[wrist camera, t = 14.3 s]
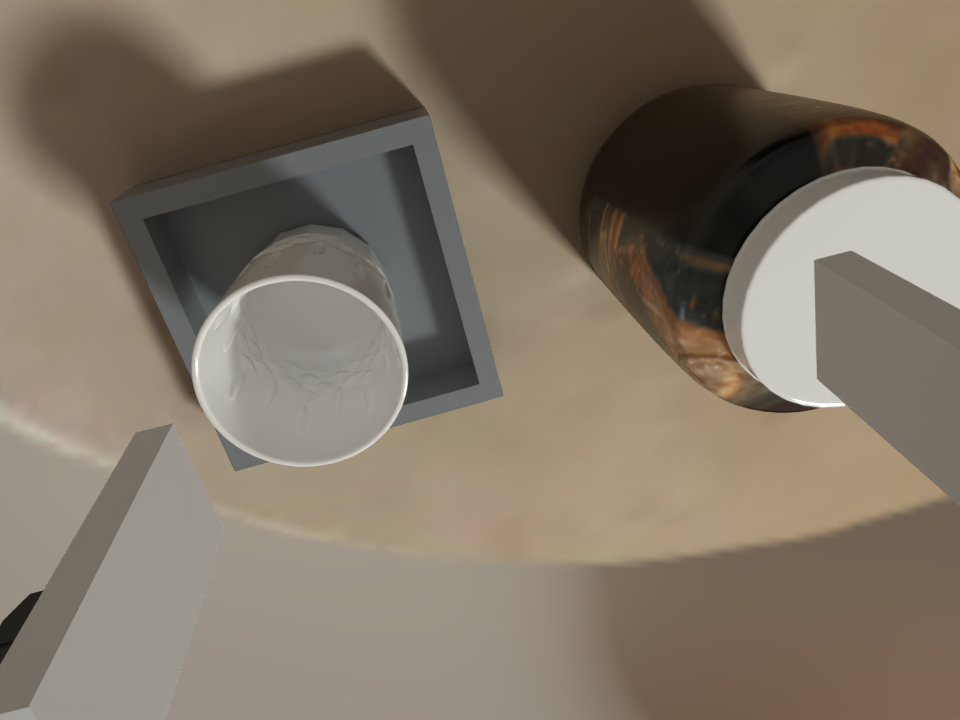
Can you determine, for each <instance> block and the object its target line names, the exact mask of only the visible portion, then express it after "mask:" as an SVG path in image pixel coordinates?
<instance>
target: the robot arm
mask: <svg viewBox="0 0 960 720" xmlns="http://www.w3.org/2000/svg"><path fill="white" fill-rule="evenodd" d="M814 281H815V323H816V364H817V380H819V381H820V382H821V383H822V384H823V385H824V386H825V387H826V388H828V389H829V390H830V391H831V392H832V393H833V394H834V395H835V396H837V397H838V398H839V399H840V400H841V401H842V402H843V403H844V404H846V405H847V406H848V407H849V408H850V409H851V410H852V411H853V412H855V413H856V414H857V415H858V416H859V417H860V418H861V419H863V420H864V421H865V422H866V423H867V424H868V425H869V426H870V427H872V428H873V429H874V430H875V431H876V432H877V433H878V434H879V435H881V436H882V437H883V438H884V439H885V440H886V441H887V442H888V443H890V444H891V445H892V446H893V447H894V448H895V449H896V450H897V451H899V452H900V453H901V454H902V455H903V456H904V457H905V458H906V459H908V460H909V461H910V462H911V463H912V464H913V465H914V466H915V467H917V468H918V469H919V470H920V471H921V472H922V473H923V474H924V475H926V476H927V477H928V478H929V479H930V480H931V481H932V482H934V483H935V484H936V485H937V486H938V487H939V488H940V489H941V490H943V491H944V492H945V493H946V494H947V495H948V496H949V497H950V498H952V499H953V500H954V501H955V502H956V503H957V504H958V505H959V506H960V309H958V308H957V307H955V306H953V305H951V304H949V303H947V302H946V301H944V300H942V299H940V298H938V297H936V296H934V295H933V294H931V293H929V292H927V291H925V290H923V289H922V288H920V287H918V286H916V285H914V284H912V283H911V282H909V281H907V280H905V279H903V278H901V277H899V276H898V275H896V274H894V273H892V272H890V271H888V270H887V269H885V268H883V267H881V266H879V265H877V264H876V263H874V262H872V261H870V260H868V259H866V258H864V257H863V256H861V255H859V254H857V253H855V252H853V251H852V250H851V251H847V252H843V253H839V254H835V255H831V256H828V257H824V258H820V259H816V260H814ZM224 531H225V529H224V527H223V525H222V523H221V521H220V519H219V517H218V515H217V513H216V511H215V509H214V507H213V505H212V503H211V501H210V498H209V496H208V494H207V492H206V490H205V488H204V486H203V484H202V482H201V480H200V478H199V476H198V474H197V472H196V470H195V468H194V466H193V464H192V462H191V460H190V458H189V455H188V453H187V451H186V449H185V447H184V445H183V443H182V441H181V439H180V437H179V435H178V433H177V431H176V429H175V427H174V425H173V424H169V425H165V426H161V427H157V428H153V429H149V430H145V431H141V432H137V433H135V435H134V436H133V438H132V440H131V442H130V443H129V445H128V447H127V448H126V450H125V452H124V454H123V455H122V457H121V459H120V460H119V462H118V464H117V466H116V467H115V469H114V471H113V472H112V474H111V476H110V478H109V479H108V481H107V483H106V484H105V486H104V488H103V489H102V491H101V493H100V495H99V496H98V498H97V500H96V502H95V503H94V505H93V507H92V509H91V510H90V512H89V514H88V515H87V517H86V519H85V520H84V522H83V524H82V525H81V527H80V529H79V531H78V532H77V534H76V536H75V537H74V539H73V541H72V543H71V544H70V546H69V548H68V549H67V551H66V553H65V555H64V556H63V558H62V560H61V562H60V563H59V565H58V567H57V568H56V570H55V572H54V573H53V575H52V577H51V579H50V580H49V582H48V584H47V585H46V587H45V589H44V590H43V591H40V592H36V593H32V594H30V595H29V596H28V597H27V598H25V599H24V600H23V601H22V602H21V604H19V605H18V606H17V608H16V609H14V611H12V612H11V613H10V614H9V615H8V616H7V617H6V618H5V619H4V620H3V622H2V623H1V625H0V720H166V718H167V715H168V712H169V709H170V705H171V702H172V699H173V696H174V693H175V689H176V686H177V683H178V680H179V676H180V673H181V670H182V667H183V663H184V660H185V657H186V654H187V651H188V647H189V644H190V641H191V638H192V634H193V631H194V628H195V624H196V621H197V618H198V615H199V612H200V609H201V605H202V602H203V599H204V595H205V592H206V589H207V586H208V583H209V579H210V576H211V573H212V570H213V566H214V563H215V560H216V557H217V553H218V550H219V547H220V544H221V541H222V537H223V534H224Z"/></svg>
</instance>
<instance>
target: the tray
mask: <svg viewBox="0 0 960 720" xmlns="http://www.w3.org/2000/svg"><path fill="white" fill-rule="evenodd" d="M110 205H111V207H112V209H113V211H114V213H115V216H116V218H117V220H118V222H119V224H120V226H121V228H122V231H123V233H124V235H125V237H126V239H127V241H128V243H129V245H130V248H131V250H132V252H133V254H134V256H135V258H136V260H137V263H138V265H139V267H140V269H141V271H142V273H143V275H144V278H145V280H146V282H147V284H148V286H149V288H150V290H151V293H152V295H153V297H154V299H155V301H156V303H157V305H158V308H159V310H160V312H161V314H162V316H163V318H164V320H165V323H166V325H167V327H168V329H169V331H170V333H171V335H172V338H173V340H174V342H175V344H176V346H177V348H178V350H179V353H180V355H181V357H182V359H183V361H184V363H185V365H186V368H187V370H188V372H189V374H190V376H191V378H192V373H191V360H192V352H193V347H194V344H195V340H196V337H197V335H198V332H199V330H200V328H201V326H202V324H203V323H204V321H205V320H206V318H207V317H208V315H209V314H210V313H211V311H212V310H213V309H214V307H215V306H216V305H217V303H218V302H219V301H220V299H221V298H222V297H223V295H224V294H225V293H226V291H227V290H228V289H229V287H230V286H231V285H232V283H233V282H234V280H235V279H236V278H237V276H238V275H239V274H240V273H241V272H242V270H243V269H244V268H245V267H246V266H247V265H248V263H250V261H251V260H252V259H253V258H254V257H255V256H256V255H257V254H258V253H260V252H261V251H262V250H263V249H264V248H265V247H266V246H267V245H268V244H269V243H270V242H271V241H272V240H273V239H274V238H275V237H276V236H278V235H279V234H280V233H282V232H286V231H289V230H292V229H295V228H299V227H302V226H305V225H308V224H315V225H322V226H329V227H336V228H343V229H345V230H346V231H348V232H349V233H351V234H352V235H354V236H355V237H357V238H359V239H360V240H362V241H363V242H365V243H366V244H368V245H370V247H371V248H372V250H373V251H374V253H375V255H376V256H377V258H378V259H379V261H380V262H381V264H382V266H383V267H384V269H385V270H386V272H387V278H388V283H389V285H390V287H391V290H392V293H393V296H394V300H395V304H396V308H397V311H398V315H399V320H400V325H401V331H402V336H403V341H404V346H405V351H406V356H407V362H408V386H407V392H406V396H405V399H404V402H403V405H402V407H401V410H400V412H399V414H398V415H397V417H396V419H395V420H394V422H393V423H392V425H391V426H390V427H389V428H391V427H395V426H398V425H402V424H405V423H409V422H413V421H416V420H420V419H423V418H427V417H430V416H434V415H437V414H441V413H445V412H448V411H452V410H455V409H459V408H462V407H466V406H469V405H473V404H477V403H480V402H484V401H487V400H491V399H494V398H498V397H501V396H503V392H502V388H501V385H500V381H499V377H498V373H497V369H496V366H495V362H494V358H493V354H492V351H491V347H490V343H489V339H488V335H487V332H486V328H485V324H484V320H483V316H482V313H481V309H480V305H479V301H478V298H477V294H476V290H475V286H474V282H473V279H472V275H471V271H470V267H469V263H468V260H467V256H466V252H465V248H464V245H463V241H462V237H461V233H460V229H459V226H458V222H457V218H456V214H455V210H454V207H453V203H452V199H451V195H450V192H449V188H448V184H447V180H446V176H445V173H444V169H443V165H442V161H441V157H440V154H439V150H438V146H437V142H436V139H435V135H434V131H433V127H432V123H431V120H430V116H429V114H428V112H427V110H426V109H425V107H421V108H418V109H414V110H411V111H407V112H403V113H400V114H396V115H392V116H389V117H385V118H381V119H378V120H374V121H371V122H367V123H363V124H360V125H356V126H352V127H349V128H345V129H341V130H338V131H334V132H331V133H327V134H323V135H320V136H316V137H312V138H309V139H305V140H302V141H298V142H294V143H291V144H287V145H283V146H280V147H276V148H272V149H269V150H265V151H262V152H258V153H254V154H251V155H247V156H243V157H240V158H236V159H232V160H229V161H225V162H222V163H218V164H214V165H211V166H207V167H203V168H200V169H196V170H192V171H189V172H185V173H182V174H178V175H174V176H171V177H167V178H163V179H160V180H156V181H153V182H149V183H145V184H142V185H138V186H134V187H133V188H131V189H130V190H128V191H127V192H125V193H124V194H122V195H121V196H119V197H118V198H116V199H115V200H113V201H112V202H110ZM214 428H215V427H214ZM215 430H216V432H217V434H218V436H219V438H220V440H221V443H222V445H223V447H224V449H225V451H226V453H227V455H228V458H229V460H230V462H231V464H232V466H233V468H234V470H235V471H238V470H242V469H246V468H249V467H253V466H256V465H260V464H263V463H267V462H269V461H265V460H262V459H260V458H257V457H255V456H253V455H251V454H249V453H247V452H245V451H243V450H241V449H240V448H238V447H237V446H235V445H234V444H232V443H231V442H230V441H228V440H227V439H226V438H225V437H224V436H223V435H222V434H221V433H220V432H219V431H218V430H217V429H216V428H215Z"/></svg>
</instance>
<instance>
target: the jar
mask: <svg viewBox="0 0 960 720" xmlns="http://www.w3.org/2000/svg"><path fill="white" fill-rule="evenodd" d="M580 232H581V237H582V242H583V246H584V249H585V252H586V255H587V257H588V260H589V262H590V264H591V265H592V267H593V269H594V271H595V272H596V274H597V275H598V276H599V278H600V279H601V280H602V282H603V283H604V284H605V285H606V286H607V288H608V289H609V290H610V291H611V292H612V294H613V295H614V296H615V297H616V298H617V299H618V300H619V302H620V303H621V304H622V305H623V306H624V307H625V309H626V310H627V311H628V312H629V313H630V314H631V315H632V316H633V318H634V319H635V320H636V321H637V322H638V323H639V324H640V325H641V326H642V328H643V329H644V330H645V331H646V332H647V333H648V334H649V335H650V336H651V337H652V338H653V340H654V341H655V342H656V343H657V344H658V345H659V346H660V347H661V348H662V349H663V350H664V351H665V352H666V353H667V354H668V355H669V356H670V357H671V358H672V360H673V361H674V362H675V363H676V364H678V365H679V366H680V367H681V368H682V369H683V370H684V371H685V372H686V373H687V374H688V375H689V376H690V377H691V378H693V379H694V380H695V381H696V382H697V383H699V384H700V385H701V386H702V387H704V388H705V389H707V390H708V391H710V392H712V393H713V394H715V395H716V396H718V397H720V398H721V399H723V400H725V401H728V402H730V403H732V404H735V405H738V406H740V407H744V408H748V409H752V410H758V411H765V412H776V413H791V412H802V411H808V410H814V409H818V408H824V407H841V406H846V404H844V403H843V402H842V401H841V400H840V399H839V398H838V397H837V396H835V395H834V394H833V393H832V392H831V391H830V390H829V389H828V388H826V387H825V386H824V385H823V384H822V383H821V382H820V381H819V380H817V364H816V323H815V281H814V260H816V259H820V258H824V257H828V256H831V255H835V254H839V253H843V252H847V251H851V250H852V251H853V252H855V253H857V254H859V255H861V256H863V257H864V258H866V259H868V260H870V261H872V262H874V263H876V264H877V265H879V266H881V267H883V268H885V269H887V270H888V271H890V272H892V273H894V274H896V275H898V276H899V277H901V278H903V279H905V280H907V281H909V282H911V283H912V284H914V285H916V286H918V287H920V288H922V289H923V290H925V291H927V292H929V293H931V294H933V295H934V296H936V297H938V298H940V299H942V300H944V301H946V302H947V303H949V304H951V305H953V306H955V307H957V308H958V309H960V170H959V169H958V167H957V166H956V164H955V163H954V161H953V160H952V158H951V157H950V155H949V154H948V153H947V152H946V151H945V150H944V149H943V147H942V146H940V145H939V144H938V143H937V142H936V141H935V140H934V139H932V138H931V137H930V136H928V135H927V134H925V133H924V132H922V131H920V130H918V129H916V128H915V127H913V126H911V125H908V124H906V123H904V122H902V121H899V120H897V119H894V118H892V117H889V116H885V115H882V114H878V113H874V112H871V111H867V110H863V109H860V108H855V107H851V106H846V105H841V104H836V103H832V102H827V101H821V100H816V99H810V98H805V97H800V96H794V95H788V94H782V93H776V92H770V91H764V90H758V89H752V88H746V87H739V86H732V85H720V84H706V85H697V86H691V87H687V88H682V89H679V90H676V91H673V92H670V93H668V94H665V95H663V96H661V97H659V98H657V99H655V100H653V101H651V102H649V103H648V104H646V105H644V106H643V107H641V108H640V109H639V110H637V111H636V112H634V113H633V114H632V115H631V116H630V117H628V118H627V119H626V120H625V121H624V122H623V123H622V124H621V125H620V126H619V127H618V128H617V129H616V130H615V131H614V132H613V134H612V135H611V136H610V137H609V138H608V140H607V141H606V142H605V144H604V145H603V147H602V148H601V150H600V151H599V153H598V155H597V156H596V158H595V160H594V162H593V164H592V166H591V168H590V171H589V173H588V176H587V179H586V182H585V185H584V189H583V192H582V198H581V204H580Z"/></svg>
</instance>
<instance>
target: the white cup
mask: <svg viewBox="0 0 960 720" xmlns="http://www.w3.org/2000/svg"><path fill="white" fill-rule="evenodd" d="M191 373H192V381H193V386H194V390H195V394H196V397H197V399H198V402H199V404H200V406H201V408H202V410H203V412H204V413H205V415H206V416H207V418H208V419H209V421H210V422H211V423H212V425H213V426H214V427H215V428H216V429H217V430H218V431H219V432H220V433H221V434H222V435H223V436H224V437H225V438H226V439H227V440H228V441H230V442H231V443H232V444H234V445H235V446H237V447H238V448H240V449H241V450H243V451H245V452H247V453H249V454H251V455H253V456H255V457H257V458H260V459H262V460H265V461H269V462H272V463H276V464H281V465H287V466H298V467H310V466H321V465H327V464H331V463H335V462H339V461H342V460H345V459H347V458H350V457H352V456H354V455H356V454H358V453H360V452H362V451H363V450H365V449H366V448H368V447H369V446H371V445H372V444H373V443H375V442H376V441H377V440H378V439H379V438H380V437H381V436H382V435H383V434H384V433H385V432H386V431H387V430H388V429H389V427H390V426H391V425H392V423H393V422H394V420H395V419H396V417H397V415H398V414H399V412H400V410H401V407H402V405H403V402H404V399H405V396H406V392H407V386H408V362H407V356H406V351H405V346H404V341H403V336H402V331H401V325H400V320H399V315H398V311H397V308H396V304H395V300H394V296H393V293H392V290H391V287H390V285H389V283H388V278H387V272H386V270H385V269H384V267H383V266H382V264H381V262H380V261H379V259H378V258H377V256H376V255H375V253H374V251H373V250H372V248H371V247H370V245H368V244H366V243H365V242H363V241H362V240H360V239H359V238H357V237H355V236H354V235H352V234H351V233H349V232H348V231H346V230H345V229H343V228H336V227H329V226H322V225H315V224H308V225H305V226H302V227H299V228H295V229H292V230H289V231H286V232H282V233H280V234H279V235H278V236H276V237H275V238H274V239H273V240H272V241H271V242H270V243H269V244H268V245H267V246H266V247H265V248H264V249H263V250H262V251H261V252H260V253H258V254H257V255H256V256H255V257H254V258H253V259H252V260H251V261H250V263H248V265H247V266H246V267H245V268H244V269H243V270H242V272H241V273H240V274H239V275H238V276H237V278H236V279H235V280H234V282H233V283H232V285H231V286H230V287H229V289H228V290H227V291H226V293H225V294H224V295H223V297H222V298H221V299H220V301H219V302H218V303H217V305H216V306H215V307H214V309H213V310H212V311H211V313H210V314H209V315H208V317H207V318H206V320H205V321H204V323H203V324H202V326H201V328H200V330H199V332H198V335H197V337H196V340H195V344H194V347H193V352H192V360H191Z"/></svg>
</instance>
